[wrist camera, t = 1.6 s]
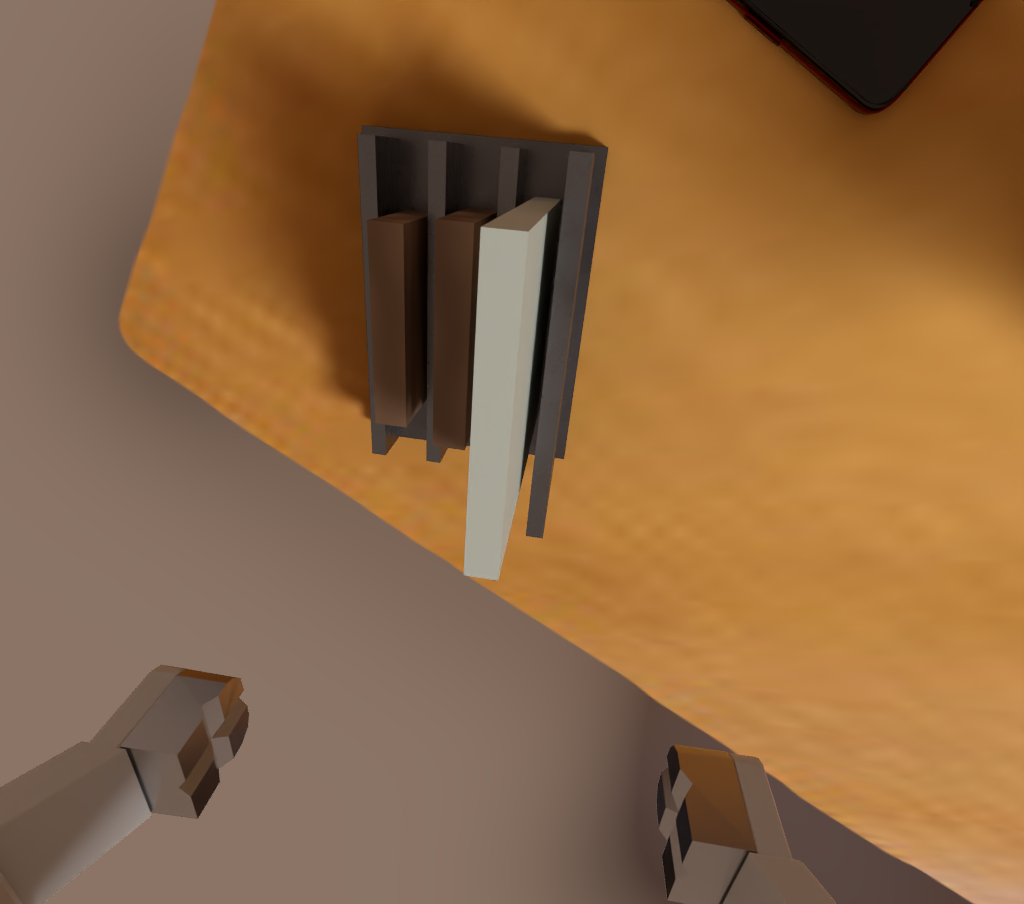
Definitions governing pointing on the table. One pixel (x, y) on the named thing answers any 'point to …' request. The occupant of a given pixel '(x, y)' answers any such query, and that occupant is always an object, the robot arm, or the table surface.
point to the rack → (502, 187)
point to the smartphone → (860, 41)
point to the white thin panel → (507, 371)
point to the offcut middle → (455, 323)
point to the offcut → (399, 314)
